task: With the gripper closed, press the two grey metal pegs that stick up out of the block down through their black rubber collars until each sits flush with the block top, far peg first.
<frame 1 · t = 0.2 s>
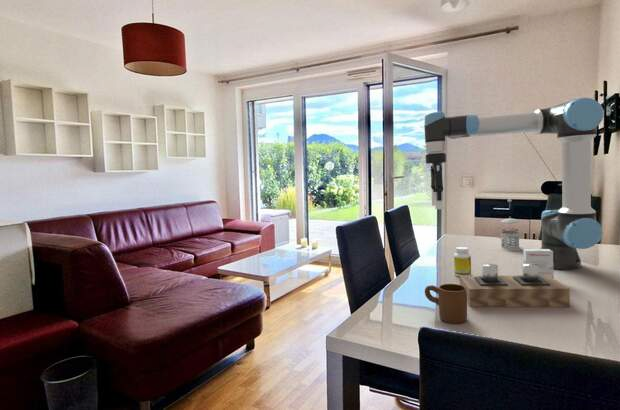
hand: (437, 207, 146), 28 cm above the table, fingers open, 13 cm apart
french press: (508, 249, 186), on the table
mug: (445, 318, 109), on the table
peg b: (490, 273, 120), point 8 cm above the table, slide at 5.0 cm
pill bottle: (462, 275, 148), on the table
ink box: (538, 282, 135), on the table
peg a: (530, 273, 118), point 8 cm above the table, slide at 5.0 cm
block: (510, 298, 120), on the table
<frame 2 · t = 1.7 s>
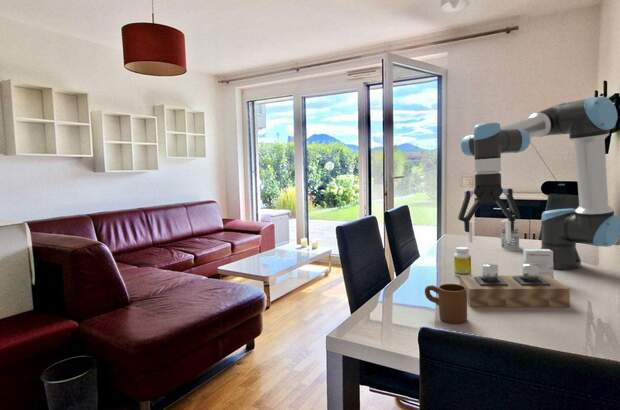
hand: (489, 241, 120), 19 cm above the table, fingers open, 11 cm apart
nothing on the table moved.
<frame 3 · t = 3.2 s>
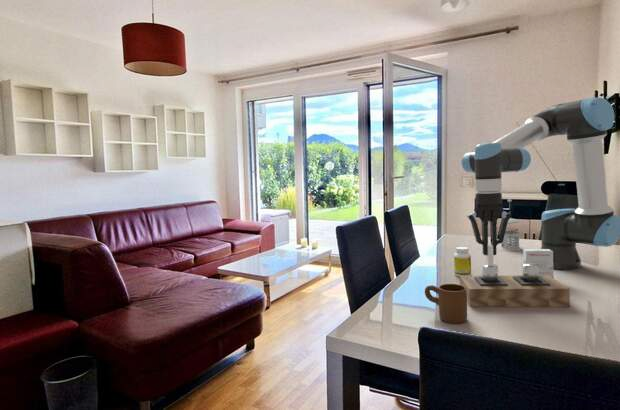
hand: (489, 264, 120), 11 cm above the table, fingers closed
peg b: (490, 273, 120), point 8 cm above the table, slide at 4.9 cm, touching gripper
everything else where it was.
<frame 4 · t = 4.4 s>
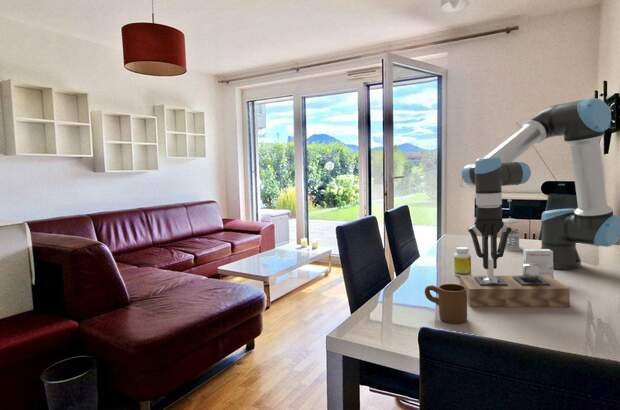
hand: (490, 278, 121), 7 cm above the table, fingers closed
peg b: (490, 287, 121), point 4 cm above the table, slide at 0.4 cm, touching gripper
everything else where it was.
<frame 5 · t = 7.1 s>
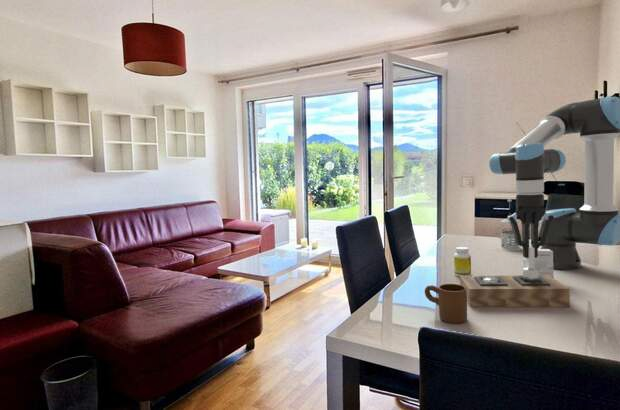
hand: (530, 267, 118), 10 cm above the table, fingers closed
peg b: (490, 287, 121), point 4 cm above the table, slide at 0.4 cm
peg a: (530, 276, 118), point 7 cm above the table, slide at 3.8 cm, touching gripper
everything else where it was.
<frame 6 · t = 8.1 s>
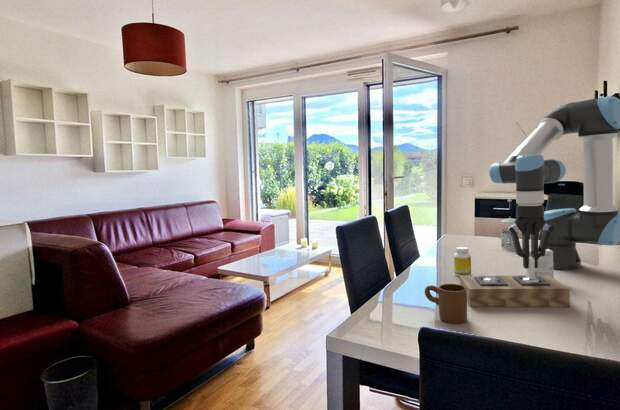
hand: (530, 277, 118), 7 cm above the table, fingers closed
peg a: (530, 286, 119), point 4 cm above the table, slide at 0.4 cm, touching gripper
everything else where it was.
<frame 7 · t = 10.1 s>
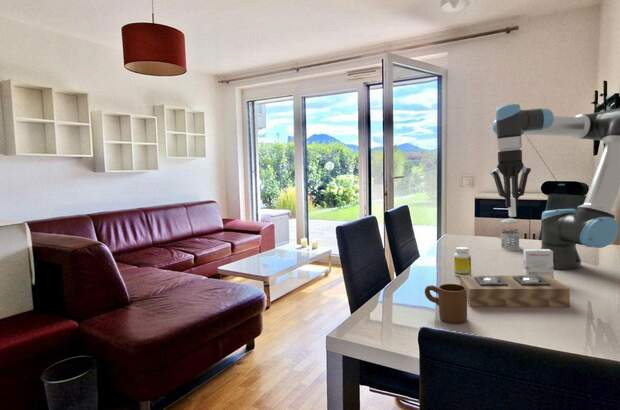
hand: (512, 216, 133), 25 cm above the table, fingers closed
peg a: (530, 287, 119), point 4 cm above the table, slide at 0.4 cm
everything else where it was.
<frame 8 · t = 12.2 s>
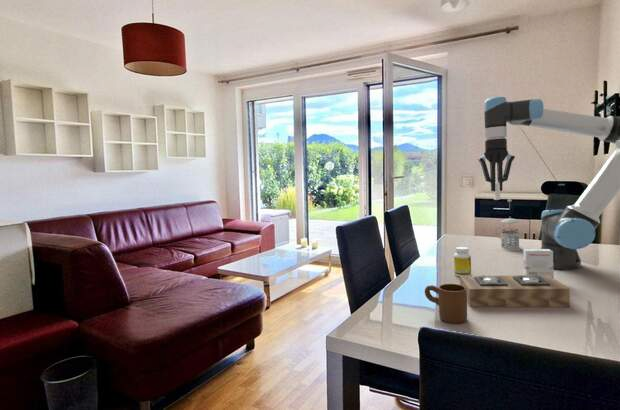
hand: (496, 199, 146), 29 cm above the table, fingers closed
nothing on the table moved.
at the end: peg a slide at 0.4 cm; peg b slide at 0.4 cm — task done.
